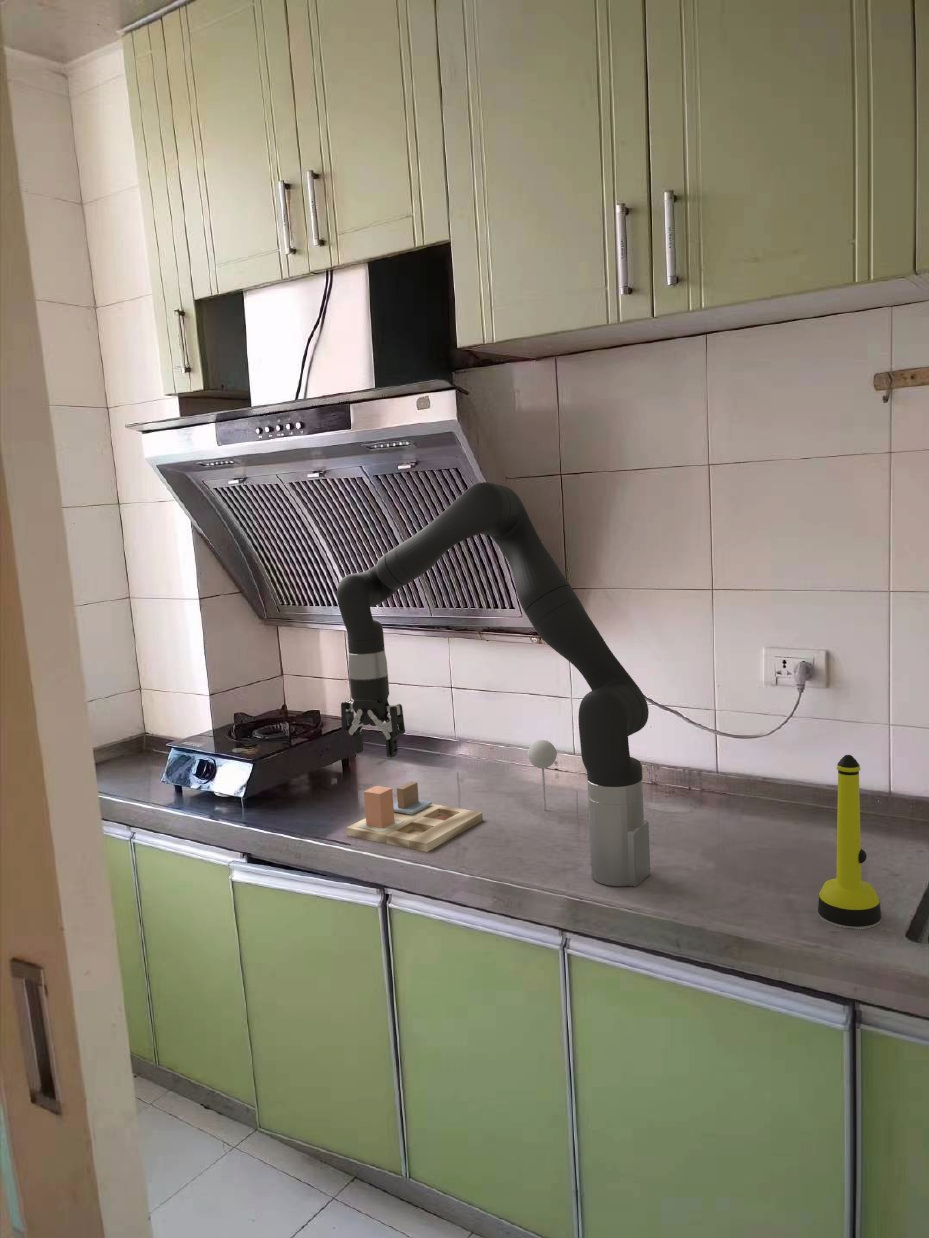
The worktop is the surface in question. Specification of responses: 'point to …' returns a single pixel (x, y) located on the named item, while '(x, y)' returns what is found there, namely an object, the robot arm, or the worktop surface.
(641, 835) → the robot arm
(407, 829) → the board
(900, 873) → the worktop surface
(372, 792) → the block
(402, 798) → the lid
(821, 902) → the flashlight
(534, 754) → the lollipop
